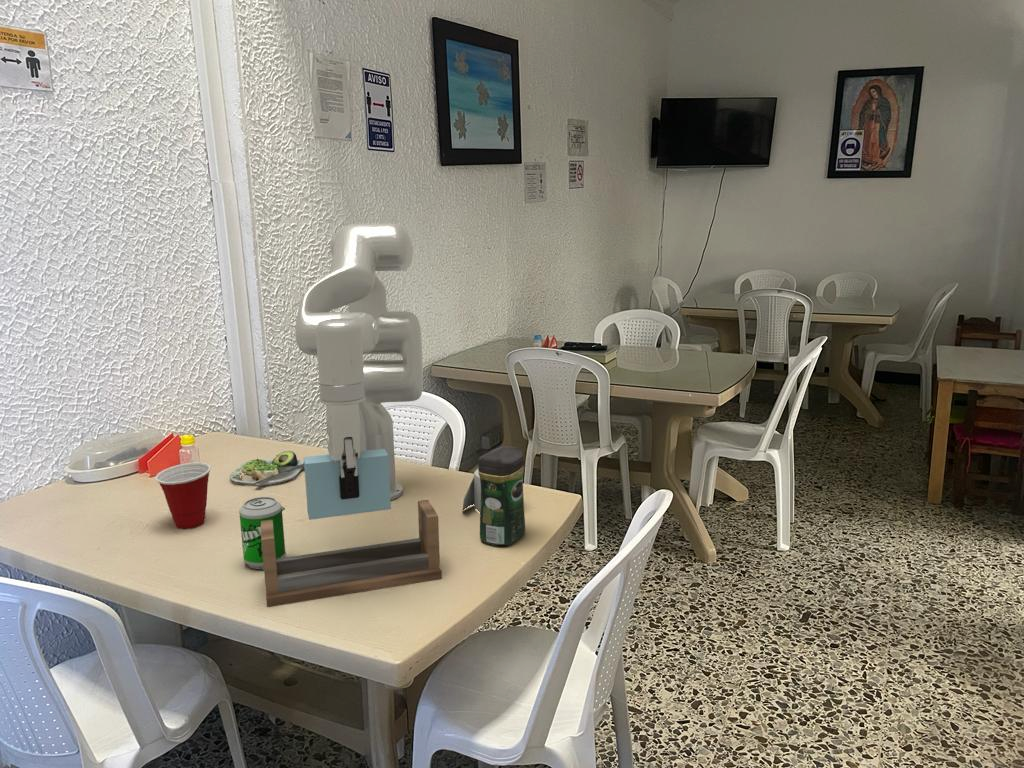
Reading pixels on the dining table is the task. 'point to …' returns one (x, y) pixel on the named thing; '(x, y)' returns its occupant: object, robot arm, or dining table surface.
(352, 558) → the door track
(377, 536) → the dining table surface
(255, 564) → the soda can
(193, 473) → the plastic cup
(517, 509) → the coffee jar
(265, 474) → the salad plate
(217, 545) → the dining table surface
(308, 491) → the door panel
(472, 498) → the toilet tissue
